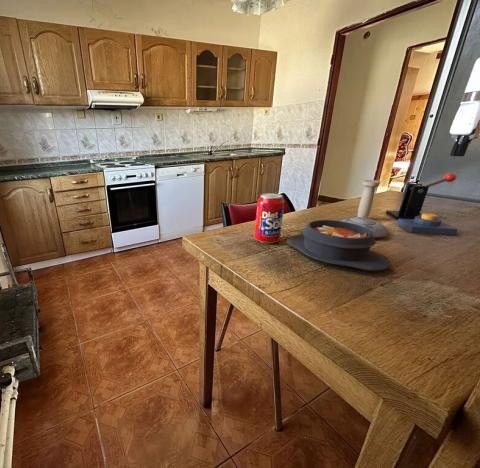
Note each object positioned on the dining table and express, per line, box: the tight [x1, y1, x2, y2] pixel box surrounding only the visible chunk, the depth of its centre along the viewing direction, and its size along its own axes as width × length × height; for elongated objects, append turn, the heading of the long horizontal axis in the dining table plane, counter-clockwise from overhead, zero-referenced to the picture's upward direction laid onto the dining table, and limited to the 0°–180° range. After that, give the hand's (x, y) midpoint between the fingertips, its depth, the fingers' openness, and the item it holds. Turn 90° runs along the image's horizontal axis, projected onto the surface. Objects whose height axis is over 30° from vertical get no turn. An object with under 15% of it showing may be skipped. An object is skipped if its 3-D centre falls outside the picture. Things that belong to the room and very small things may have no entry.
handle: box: [356, 179, 381, 218], centre depth 98 cm, size 5×6×15 cm
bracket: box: [385, 183, 430, 221], centre depth 100 cm, size 11×9×13 cm
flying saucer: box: [340, 216, 390, 239], centre depth 87 cm, size 15×15×6 cm
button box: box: [396, 216, 459, 236], centre depth 88 cm, size 12×9×4 cm
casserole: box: [286, 219, 392, 272], centre depth 71 cm, size 25×19×8 cm
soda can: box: [253, 192, 286, 245], centre depth 81 cm, size 8×8×15 cm
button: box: [421, 212, 438, 220], centre depth 87 cm, size 4×4×2 cm
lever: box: [410, 172, 457, 191], centre depth 96 cm, size 13×3×3 cm, turn 74°
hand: (456, 156), depth 91 cm, fingers closed
